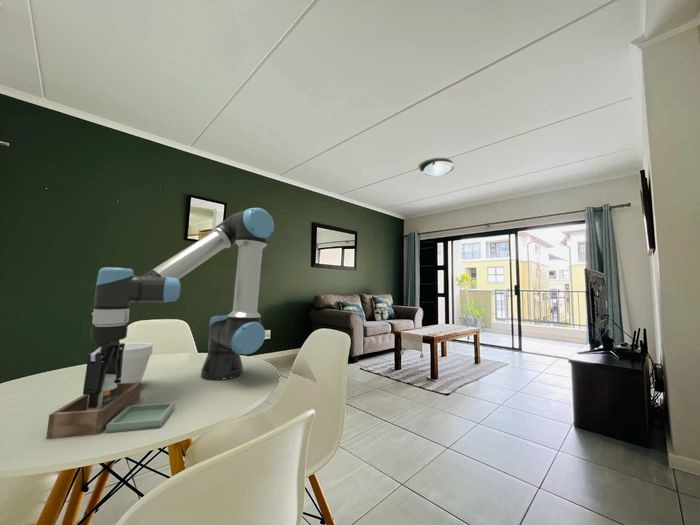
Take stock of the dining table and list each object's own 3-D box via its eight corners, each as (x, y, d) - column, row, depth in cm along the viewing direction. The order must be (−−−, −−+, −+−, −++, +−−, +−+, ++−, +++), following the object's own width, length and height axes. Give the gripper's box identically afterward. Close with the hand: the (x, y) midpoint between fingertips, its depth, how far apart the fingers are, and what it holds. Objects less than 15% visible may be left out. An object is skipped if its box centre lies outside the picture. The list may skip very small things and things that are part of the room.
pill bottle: (97, 421, 70) (101, 380, 71) (79, 419, 72) (84, 378, 72) (120, 412, 76) (123, 374, 77) (102, 409, 77) (107, 372, 78)
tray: (174, 409, 79) (174, 402, 79) (159, 427, 68) (160, 420, 69) (128, 412, 76) (128, 405, 76) (105, 432, 65) (106, 424, 66)
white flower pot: (136, 393, 89) (140, 349, 90) (92, 395, 87) (97, 349, 88) (156, 381, 101) (160, 342, 102) (118, 382, 99) (122, 342, 100)
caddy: (139, 398, 85) (141, 381, 86) (100, 433, 65) (103, 410, 66) (100, 401, 82) (102, 383, 83) (46, 438, 62) (49, 414, 63)
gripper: (111, 320, 84) (103, 401, 82) (69, 329, 66) (57, 433, 64) (141, 320, 86) (133, 399, 84) (108, 329, 68) (97, 430, 66)
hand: (100, 414), depth 74 cm, fingers closed on pill bottle, 6 cm apart
